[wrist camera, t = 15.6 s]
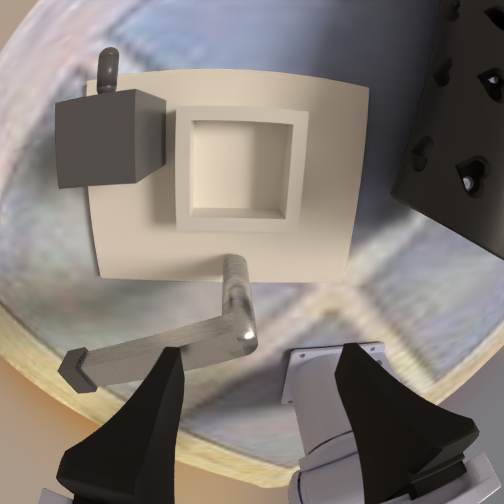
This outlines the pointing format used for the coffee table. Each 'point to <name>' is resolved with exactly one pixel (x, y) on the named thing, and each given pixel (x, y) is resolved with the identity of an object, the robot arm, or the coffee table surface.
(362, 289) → the coffee table surface
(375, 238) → the coffee table surface
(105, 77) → the plug
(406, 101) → the coffee table surface
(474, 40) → the muzzle brake
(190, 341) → the clip
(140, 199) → the socket base
